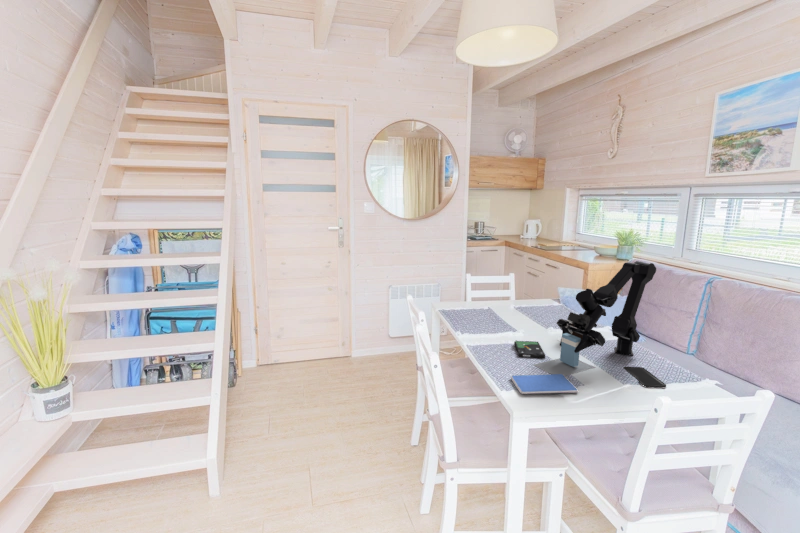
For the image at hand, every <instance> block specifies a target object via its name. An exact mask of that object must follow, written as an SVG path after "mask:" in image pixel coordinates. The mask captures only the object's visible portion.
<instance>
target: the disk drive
mask: <svg viewBox="0 0 800 533" xmlns="http://www.w3.org/2000/svg"><path fill="white" fill-rule="evenodd" d="M513 344H514V345H515V346H514V345H513V346H514V349H515V351H516V352H517V355H518V357H519V358H530V359H531V358H532V359H543V360H544V359H546V354H545V352H544V350H543V348H542V346H541V345H540V343H539V341H534V340H533V341H531V340H524V341H523V340H515V341H514V342H513Z"/></svg>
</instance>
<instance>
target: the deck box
mask: <svg viewBox="0 0 800 533" xmlns="http://www.w3.org/2000/svg"><path fill="white" fill-rule="evenodd" d="M561 338H562V341H561V340H560V342H561V346H560V356H559V358H560V361H562V362H564V363H566V364H568V365H570V366H573V367H575V366H578V363H579V360H580V352H581V351H579V352H577V353H575V352H574V350H575V349H576V347H577V346H578V344H579V343H580V341H581V338H579V337H576V336H574V335H571V334H568V333H564V334H562V333H561Z"/></svg>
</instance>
